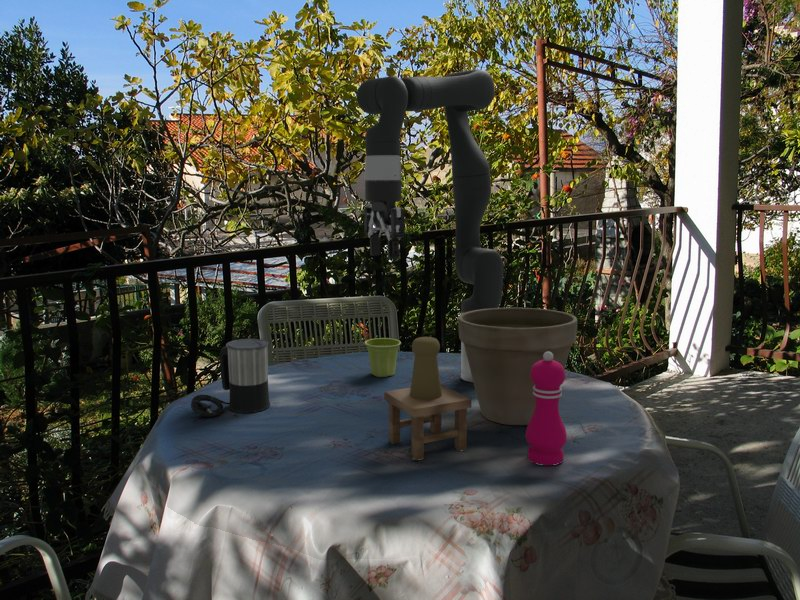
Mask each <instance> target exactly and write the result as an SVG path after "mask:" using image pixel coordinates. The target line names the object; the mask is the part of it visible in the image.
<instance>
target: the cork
mask: <svg viewBox="0 0 800 600" xmlns="http://www.w3.org/2000/svg"><path fill="white" fill-rule="evenodd" d="M440 349H441V344H440V341H439V340H438V339H437V338H436V337H430V336H422V337H421V336H419V337H417V338H415V339H414V340H413V341H412V345H411V350H412V353H413V354H414V360H413V367H412V375H411V384H410V387H411V389H410V396H411V397H412V398H415V399H421V400H432V399H437V398H440V397H441V396H442V392H441V377H440V371H439V370H440V369H439V361H438V354H439V352H440Z"/></svg>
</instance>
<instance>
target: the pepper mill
mask: <svg viewBox="0 0 800 600" xmlns="http://www.w3.org/2000/svg"><path fill="white" fill-rule="evenodd" d="M543 358H544V360H540V361H538V362H536V363H535V364H534V365H533V366H532V369H531V374H530V375H531V379H532V381H533V382H534V384H535V386H533V389H534V391H533V395H535V399H536V403H535V410H534V413H533V416H532V418H531V420H530V422H529V424H528V425H526V431H525V440H526V443H527V444H529V447H528V448H527V459H528V461H529V460H530V461H532V462H534V463H538V464H543V465H553V464H557V463H560V462H562V461H563V462H564V450H563V449H562V448H563V447H564V446H565V445H566V443H567V441H568V439H567V436H568V435H567V430H566V427H565V424H564V422H563V419H562V417H561V415H560V411H559V410H560V409H559V402H560V398H561V396H562V395H563V393H562V391H563V388H562V384H564V382H565V379H566V372H565V371H566V370H565V369H564V368H563V366H562V365H561V364H560V363H558V362H557V361H554V360H552V359H553V354H552V353H551V352H549V351H548V352H545V353H544V355H543ZM530 461H529V462H530ZM532 462H531V463H532ZM563 462H562V463H563ZM534 463H533V464H534Z"/></svg>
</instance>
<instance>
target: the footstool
mask: <svg viewBox="0 0 800 600" xmlns="http://www.w3.org/2000/svg"><path fill="white" fill-rule="evenodd" d="M440 384H441V383H440ZM410 389H411V386H410V387H404V388H399V389H393V390H392V389H391V390H387V391H384V392H383V394H384V395H383V396H384V397H383V398H384V401H386V402H388V441H389V442H388V443H390V442H391V443H390V444H391V445H397V444H401V429H402V428H408V427H410V428H411V429H410V430H411V459H412V458H414V459H415V460H418V459H422V458H425V457H424V456H425V455H424V453H425V449H424V447H425V446H424V444H428V443H431V442H433V443H434V442H436V441H437V442H438V441H443V440H448V439H452V438H454V449H455V448H456V449H457V450H459V451H460V452H462V451H461V450H465V449H467V446H468V444H467V443H468V442H467V440H468V439H467V438H468V436H467V434H468V433H467V432H468V430H467V426H468V425H467V424H468V420H467V419H468V417H467V415H468V414H467V412H468V411H467V410H468V409H469V408H472V398H469V397H468V396H466V395H463V394H462V393H461V392H460V393H459V392H458V391H456V390H454V389H452V388H450V387H447V386H445V385H444V384H441V392H442V396H441V397H440V398H437V399H432V400H421V399H415V398H412V397H411V396H410ZM401 411H402V412H404V413H405V414H407V415H409V416H410V417H409V418H404V419H401ZM448 412H454V428H450V429H447V430H446V429H445V430H442V414H443V413H448ZM428 423H429V426H430V427H429V429H430V430H429V433H427V434H424V428H425V427H424V424H428ZM430 433H431V434H430ZM396 443H397V444H396ZM456 449H455V450H456ZM457 450H456V451H457ZM459 451H458V452H459ZM465 451H466V450H465ZM414 459H413V460H414ZM415 460H414V461H415Z"/></svg>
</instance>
